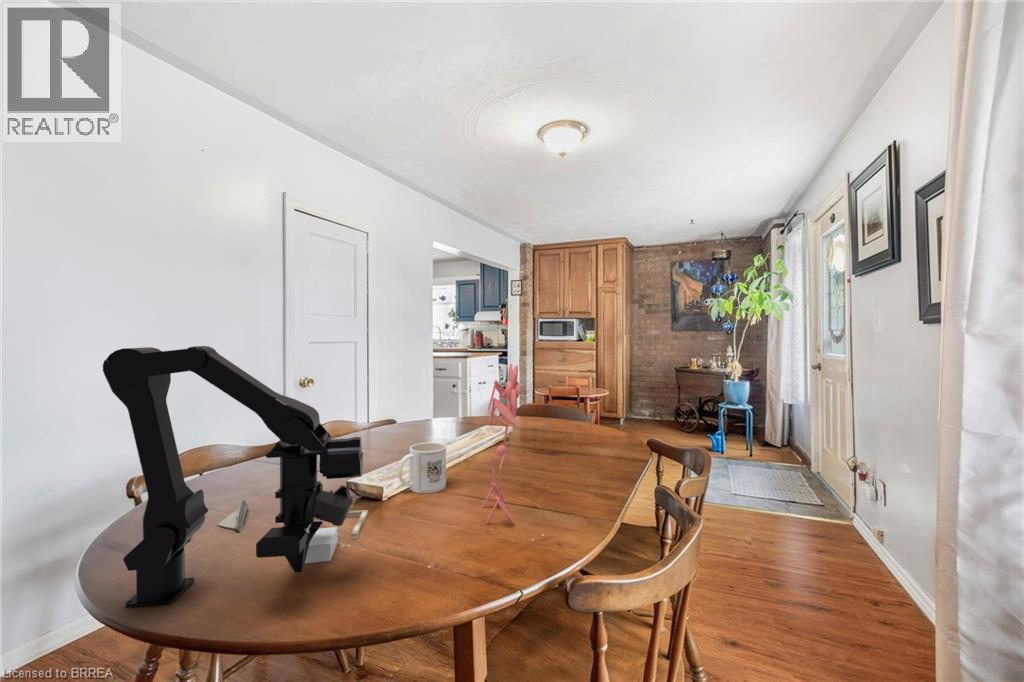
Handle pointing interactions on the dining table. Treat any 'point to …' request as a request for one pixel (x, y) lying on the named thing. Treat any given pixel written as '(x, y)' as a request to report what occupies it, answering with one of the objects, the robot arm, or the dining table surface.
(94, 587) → the dining table surface
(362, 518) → the tile bay
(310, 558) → the pale blue eraser block
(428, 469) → the mug
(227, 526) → the ceramic fragment
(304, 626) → the dining table surface
